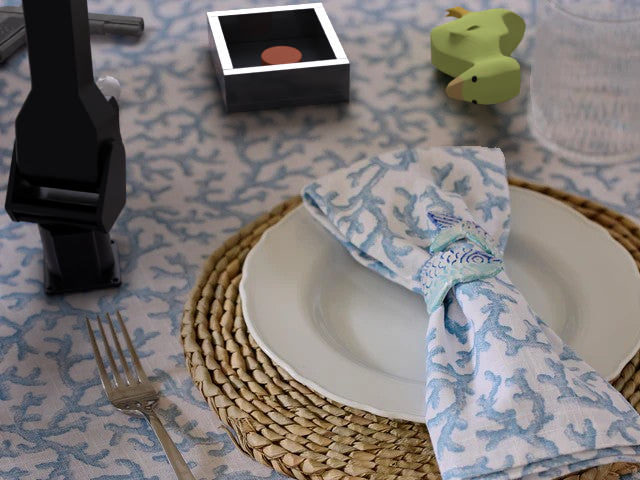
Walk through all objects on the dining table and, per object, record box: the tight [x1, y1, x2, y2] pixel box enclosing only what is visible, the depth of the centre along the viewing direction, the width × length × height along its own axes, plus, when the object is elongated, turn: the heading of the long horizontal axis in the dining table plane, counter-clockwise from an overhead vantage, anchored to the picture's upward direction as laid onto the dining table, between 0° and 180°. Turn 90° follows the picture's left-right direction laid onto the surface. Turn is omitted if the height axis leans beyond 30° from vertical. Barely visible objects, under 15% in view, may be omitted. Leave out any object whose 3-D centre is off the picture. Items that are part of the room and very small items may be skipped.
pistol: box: [0, 4, 145, 64], centre depth 119 cm, size 2×18×12 cm
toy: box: [429, 6, 527, 105], centre depth 114 cm, size 6×17×20 cm
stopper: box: [261, 46, 302, 66], centre depth 111 cm, size 4×4×3 cm
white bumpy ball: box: [95, 74, 122, 102], centre depth 110 cm, size 3×3×3 cm
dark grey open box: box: [205, 2, 351, 114], centre depth 114 cm, size 15×14×4 cm
